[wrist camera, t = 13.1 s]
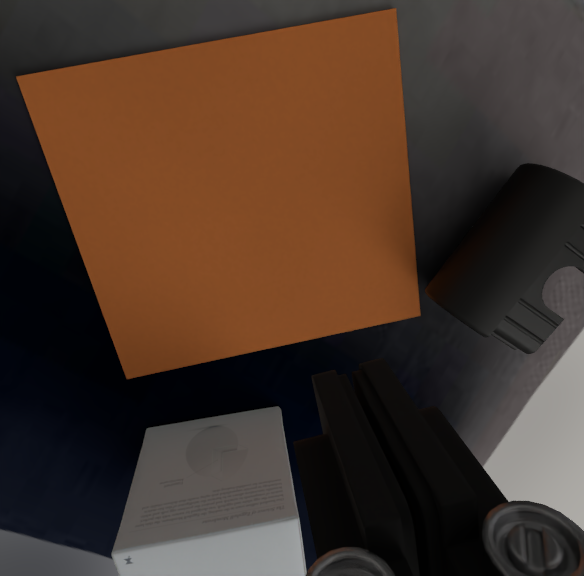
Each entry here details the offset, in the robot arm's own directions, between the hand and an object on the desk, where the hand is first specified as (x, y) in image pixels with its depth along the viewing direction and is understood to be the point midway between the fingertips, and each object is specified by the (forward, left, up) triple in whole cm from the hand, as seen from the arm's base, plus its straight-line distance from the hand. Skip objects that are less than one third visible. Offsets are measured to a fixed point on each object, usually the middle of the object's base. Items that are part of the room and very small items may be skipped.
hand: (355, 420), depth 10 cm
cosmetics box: (+16, -8, -21) cm, 27 cm away
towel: (-2, -2, -21) cm, 21 cm away
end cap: (+4, +15, -21) cm, 26 cm away
